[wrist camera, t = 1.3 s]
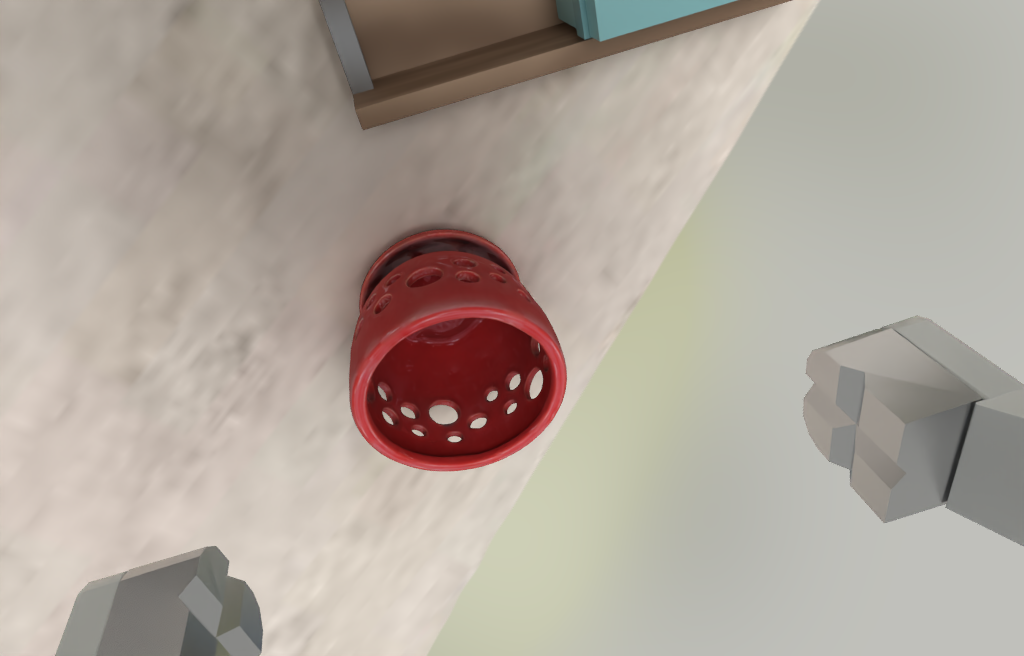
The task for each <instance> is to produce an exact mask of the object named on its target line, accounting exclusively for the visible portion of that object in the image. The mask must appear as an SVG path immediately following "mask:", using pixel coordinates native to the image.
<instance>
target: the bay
mask: <svg viewBox="0 0 1024 656" xmlns="http://www.w3.org/2000/svg"><path fill="white" fill-rule="evenodd" d="M788 1H791V0H737V1H733V2H730V3H727V4H723V5H720V6H717V7H713V8H710V9H707V10H704V11H700V12H697V13H694V14H690V15H687V16H684V17H680V18H677V19H674V20H670V21H667V22H664V23H660V24H657V25H654V26H650V27H647V28H644V29H640V30H637V31H634V32H630V33H627V34H624V35H620V36H617V37H614V38H610V39H607V40H604V41H601V42H600V41H598V40H596V39H594V38H593V37H592V38H589V39H585V40H584V39H583V38H581V37H579V36H578V35H577V30H576V28H575V27H573V26H571V25H569V24H568V23H566V22H564V21H562V20H560V19H559V18H558V12H557V6H556V0H319V2H320V5H321V8H322V11H323V13H324V16H325V19H326V22H327V24H328V27H329V30H330V33H331V35H332V38H333V41H334V44H335V46H336V49H337V52H338V55H339V57H340V60H341V63H342V66H343V68H344V71H345V74H346V77H347V79H348V82H349V85H350V88H351V90H352V93H353V98H354V104H355V110H356V113H357V116H358V119H359V121H360V124H361V127H362V129H363V130H365V129H369V128H372V127H375V126H379V125H382V124H385V123H388V122H392V121H395V120H398V119H402V118H405V117H408V116H412V115H415V114H418V113H422V112H425V111H428V110H431V109H435V108H438V107H441V106H445V105H448V104H451V103H455V102H458V101H461V100H464V99H468V98H471V97H474V96H478V95H481V94H484V93H488V92H491V91H494V90H497V89H501V88H504V87H507V86H511V85H514V84H517V83H521V82H524V81H527V80H531V79H534V78H537V77H540V76H544V75H547V74H550V73H554V72H557V71H560V70H564V69H567V68H570V67H573V66H577V65H580V64H583V63H587V62H590V61H593V60H597V59H600V58H603V57H606V56H610V55H613V54H616V53H620V52H623V51H626V50H630V49H633V48H636V47H640V46H643V45H646V44H649V43H653V42H656V41H659V40H663V39H666V38H669V37H673V36H676V35H679V34H682V33H686V32H689V31H692V30H696V29H699V28H702V27H706V26H709V25H712V24H715V23H719V22H722V21H725V20H729V19H732V18H735V17H739V16H742V15H745V14H749V13H752V12H755V11H758V10H762V9H765V8H768V7H772V6H775V5H778V4H782V3H785V2H788Z"/></svg>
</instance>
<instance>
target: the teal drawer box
mask: <svg viewBox="0 0 1024 656" xmlns="http://www.w3.org/2000/svg"><path fill="white" fill-rule="evenodd" d="M733 1H737V0H556V6H557V12H558V18H559V19H560V20H562V21H564V22H566V23H568V24H569V25H571V26H573V27H575V28H576V30H577V35H578V36H579V37H581V38H583V39H584V40H585V39H589V38H592V37H593V38H594V39H596V40H598V41H600V42H601V41H604V40H607V39H610V38H614V37H617V36H620V35H624V34H627V33H630V32H634V31H637V30H640V29H644V28H647V27H650V26H654V25H657V24H660V23H664V22H667V21H670V20H674V19H677V18H680V17H684V16H687V15H690V14H694V13H697V12H700V11H704V10H707V9H710V8H713V7H717V6H720V5H723V4H727V3H730V2H733Z"/></svg>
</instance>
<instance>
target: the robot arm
mask: <svg viewBox="0 0 1024 656" xmlns="http://www.w3.org/2000/svg"><path fill="white" fill-rule="evenodd" d="M806 374H807V375H808V376H809V377H810V378H811V380H812V381H814V384H813V386H812V387H811V389H810V390H809V391H808V393H807V394H806V396H805V397H804V407H803V416H804V420H805V422H806V426H807V429H808V432H809V435H810V436H811V438H812V439H813V441H814V443H815V445H816V447H817V448H818V449H819V450H820V452H821V453H822V454H823V455H824V456H825V457H826V459H827V460H828V461H829V462H832V463H834V464H837V465H839V466H842V467H845V468H847V469H849V470H850V486H851V487H852V488H853V489H854V490H855V491H856V493H857V494H858V495H859V496H860V497H861V498H862V499H863V500H864V501H865V503H866V504H867V505H868V506H869V507H870V508H871V509H872V510H873V511H874V512H875V514H876V515H877V516H878V517H879V518H880V519H881V520H882V521H883V523H887V522H890V521H893V520H897V519H900V518H903V517H906V516H909V515H912V514H916V513H919V512H922V511H925V510H928V509H932V508H935V507H937V506H941V505H944V504H946V508H947V509H949V510H952V511H953V512H955V513H957V514H960V515H962V516H963V517H965V518H967V519H969V520H972V521H974V522H976V523H978V524H980V525H982V526H984V527H986V528H988V529H990V530H992V531H994V532H996V533H998V534H1000V535H1002V536H1004V537H1006V538H1008V539H1010V540H1012V541H1014V542H1016V543H1018V544H1020V545H1022V546H1024V384H1022V383H1021V382H1019V381H1018V380H1017V379H1015V378H1014V377H1012V376H1011V375H1009V374H1008V373H1006V372H1005V371H1004V370H1002V369H1001V368H999V367H998V366H996V365H995V364H994V363H992V362H991V361H989V360H988V359H986V358H985V357H983V356H982V355H981V354H979V353H978V352H976V351H975V350H973V349H972V348H971V347H969V346H968V345H966V344H965V343H963V342H962V341H960V340H959V339H957V338H956V337H954V336H953V335H952V334H950V333H949V332H948V331H946V330H944V329H943V328H942V327H940V326H939V325H937V324H936V323H934V322H933V321H932V320H930V319H928V318H924V317H920V316H915V317H911V318H908V319H905V320H903V321H899V322H896V323H893V324H890V325H887V326H884V327H882V328H880V329H875V330H873V331H869V332H866V333H863V334H861V335H858V336H854V337H852V338H848V339H845V340H842V341H839V342H836V343H833V344H830V345H828V346H825V347H821V348H818V349H815V350H813V351H812V352H811V354H810V355H809V357H808V359H807V367H806ZM228 566H229V560H228V559H227V558H226V557H225V556H224V555H223V553H222V552H221V551H220V550H219V549H218V548H217V546H211V547H204V548H201V549H197V550H194V551H191V552H187V553H184V554H181V555H177V556H174V557H171V558H167V559H164V560H160V561H157V562H154V563H150V564H147V565H144V566H140V567H137V568H133V569H130V570H129V571H126V572H123V573H119V574H116V575H113V576H109V577H106V578H102V579H99V580H96V581H92V582H89V583H88V584H87V585H86V586H85V587H84V588H83V589H82V590H81V591H80V593H79V594H78V595H77V598H76V600H75V603H74V606H73V609H72V611H71V614H70V617H69V619H68V622H67V625H66V628H65V630H64V633H63V636H62V638H61V641H60V644H59V647H58V649H57V652H56V655H55V656H259V655H260V654H261V651H262V636H263V628H262V621H261V614H260V608H259V605H258V603H257V601H256V598H255V596H254V593H253V592H252V590H251V589H250V588H249V586H248V585H247V584H246V582H245V581H242V580H239V579H236V578H233V577H230V576H227V573H228Z"/></svg>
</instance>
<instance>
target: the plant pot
mask: <svg viewBox="0 0 1024 656" xmlns="http://www.w3.org/2000/svg"><path fill="white" fill-rule="evenodd" d="M359 309H360V316H359V318H358V321H357V325H356V328H355V333H354V337H353V342H352V347H351V360H350V374H349V391H350V407H351V412H352V416H353V419H354V421H355V424H356V426H357V428H358V429H359V431H360V433H361V434H362V436H363V437H364V438H365V439H366V441H367V442H368V443H369V444H370V445H371V446H372V447H373V448H375V449H376V450H377V451H378V452H380V453H381V454H383V455H384V456H386V457H388V458H389V459H392V460H394V461H396V462H399V463H401V464H404V465H407V466H410V467H414V468H418V469H423V470H430V471H459V470H467V469H473V468H478V467H482V466H485V465H488V464H492V463H494V462H497V461H499V460H502V459H504V458H506V457H508V456H510V455H512V454H514V453H515V452H517V451H519V450H520V449H522V448H523V447H525V446H526V445H528V444H529V443H530V442H532V441H533V440H534V439H535V438H536V437H537V436H538V435H540V434H541V433H542V432H543V431H544V429H545V428H546V427H547V426H548V425H549V424H550V422H551V421H552V420H553V418H554V416H555V415H556V413H557V411H558V409H559V408H560V405H561V403H562V401H563V398H564V394H565V390H566V382H567V371H566V364H565V359H564V356H563V353H562V350H561V347H560V343H559V341H558V338H557V336H556V334H555V332H554V329H553V327H552V325H551V324H550V322H549V320H548V318H547V316H546V315H545V313H544V312H543V310H542V309H541V308H540V306H539V305H538V304H537V303H536V302H535V301H534V299H533V298H532V296H531V295H530V294H529V292H528V291H527V290H526V288H525V287H524V286H523V285H522V284H521V283H520V280H519V276H518V273H517V271H516V269H515V267H514V265H513V263H512V262H511V260H510V259H509V258H508V256H507V255H506V254H505V253H504V252H503V251H502V250H501V249H500V248H499V247H497V246H496V245H494V244H493V243H491V242H490V241H488V240H486V239H484V238H482V237H480V236H477V235H475V234H472V233H468V232H464V231H458V230H432V231H426V232H421V233H418V234H415V235H412V236H410V237H407V238H405V239H403V240H401V241H399V242H398V243H396V244H395V245H393V246H392V247H390V248H389V249H388V250H387V251H385V252H384V253H383V254H382V255H381V256H380V257H379V258H378V259H377V261H376V262H375V263H374V264H373V266H372V267H371V269H370V271H369V272H368V274H367V276H366V278H365V280H364V283H363V286H362V289H361V293H360V302H359ZM538 343H539V346H540V352H539V348H538ZM539 370H541V372H542V375H543V385H542V389H541V392H540V393H539V395H538V396H537V397H536V398H534V399H531V397H530V392H529V390H530V385H531V382H532V380H533V378H534V376H535V374H536V373H537V372H538V371H539ZM516 374H520V378H521V380H520V384H519V385H518V387H516V388H515V389H514V390H510V387H509V385H510V381H511V379H512V378H513V377H514V376H515V375H516ZM378 386H379V387H381V388H382V389H383V390H384V392H385V394H386V397H387V401H386V400H384V399H383V398H382V397H381V396H380V394H379V392H378ZM491 391H498V396H497V398H496V399H495V400H493V401H488V400H487V396H488V394H489V393H490V392H491ZM513 403H517V407H516V409H515V410H514V412H512V413H510V414H507V409H508V408H509V406H510V405H511V404H513ZM435 405H447V406H450V407H452V408H453V409H455V410H456V412H457V414H458V419H457V420H456V421H455V422H453V423H451V424H444V425H442V424H438V423H436V422H435V421H434V420H432V419H431V417H430V415H429V409H430V408H431V407H432V406H435ZM401 407H406V408H409V409H410V410H412V411H413V412H414V414H415V419H413V418H409V417H406V416H405V415H403V414H402V412H401ZM382 411H383V412H385V413H387V415H388V416H390V418H391V419H392V422H393V425H392V424H389V423H388V422H387V421H386V420H385V419H384V417H383V414H382ZM478 418H486V419H487V421H486V424H485V425H484V426H483V427H482V428H470V425H471V423H472V422H473V421H474V420H476V419H478ZM412 430H418V431H420V432H422V433H423V435H424V436H418V435H416V434H414V433H413V432H412ZM451 436H458V437H460V438H461V439H462V440H461V441H459V442H450V441H448V438H449V437H451Z"/></svg>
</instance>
